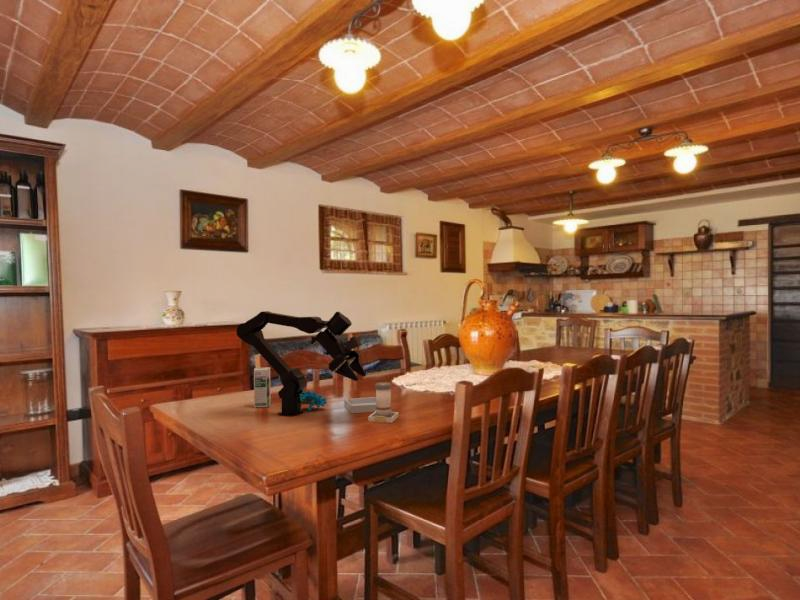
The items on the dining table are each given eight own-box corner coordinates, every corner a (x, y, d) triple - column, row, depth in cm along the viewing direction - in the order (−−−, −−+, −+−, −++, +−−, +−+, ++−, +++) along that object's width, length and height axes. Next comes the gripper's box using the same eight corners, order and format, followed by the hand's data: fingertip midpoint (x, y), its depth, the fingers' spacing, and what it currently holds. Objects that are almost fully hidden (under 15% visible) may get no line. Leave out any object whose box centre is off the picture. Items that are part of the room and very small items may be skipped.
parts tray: (350, 413, 166) (350, 406, 166) (344, 405, 178) (344, 399, 178) (384, 410, 170) (384, 403, 170) (376, 403, 182) (376, 397, 182)
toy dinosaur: (331, 404, 174) (320, 389, 168) (326, 418, 170) (315, 403, 164) (306, 403, 178) (294, 388, 172) (300, 417, 174) (288, 403, 168)
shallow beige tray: (367, 421, 154) (367, 415, 154) (376, 414, 164) (376, 409, 164) (391, 423, 152) (391, 417, 152) (399, 416, 162) (398, 410, 162)
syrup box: (253, 408, 175) (253, 369, 175) (255, 404, 181) (255, 367, 181) (269, 407, 176) (269, 368, 176) (270, 403, 182) (270, 366, 182)
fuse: (386, 421, 155) (386, 385, 155) (372, 419, 157) (372, 384, 157) (394, 418, 159) (394, 382, 159) (381, 416, 162) (380, 381, 162)
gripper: (337, 330, 153) (370, 365, 151) (355, 327, 171) (384, 358, 169) (315, 354, 155) (346, 389, 152) (334, 348, 173) (363, 379, 171)
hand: (361, 378), depth 161 cm, fingers open, 9 cm apart
